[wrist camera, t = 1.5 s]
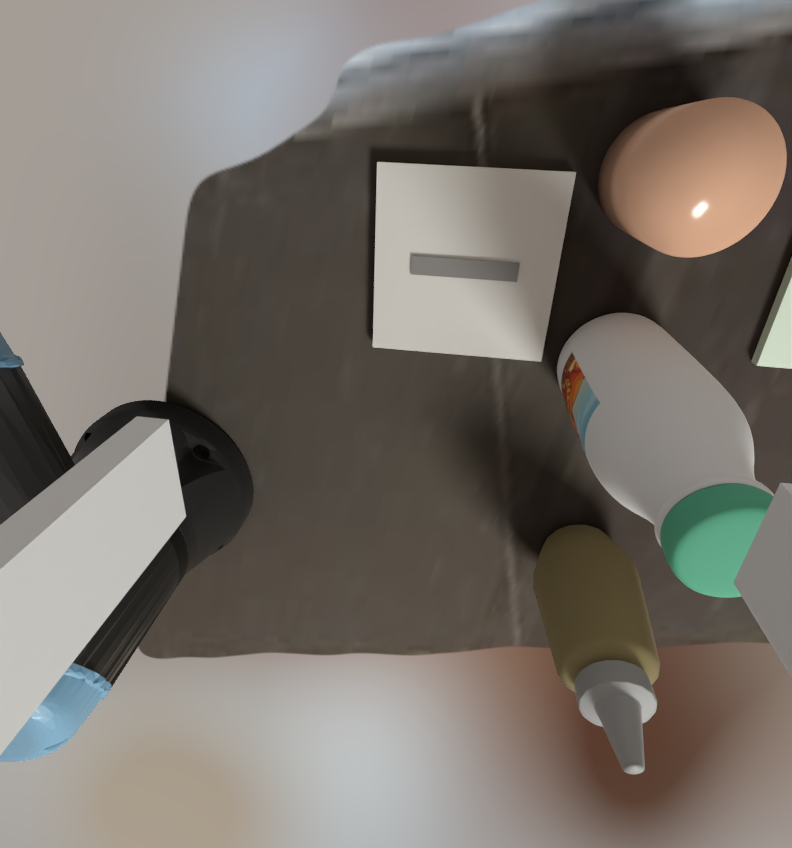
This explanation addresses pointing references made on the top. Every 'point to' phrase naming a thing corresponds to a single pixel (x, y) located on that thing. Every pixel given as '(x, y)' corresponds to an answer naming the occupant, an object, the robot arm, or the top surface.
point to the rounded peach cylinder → (694, 175)
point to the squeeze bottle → (600, 634)
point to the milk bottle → (666, 445)
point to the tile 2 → (778, 329)
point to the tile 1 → (467, 258)
